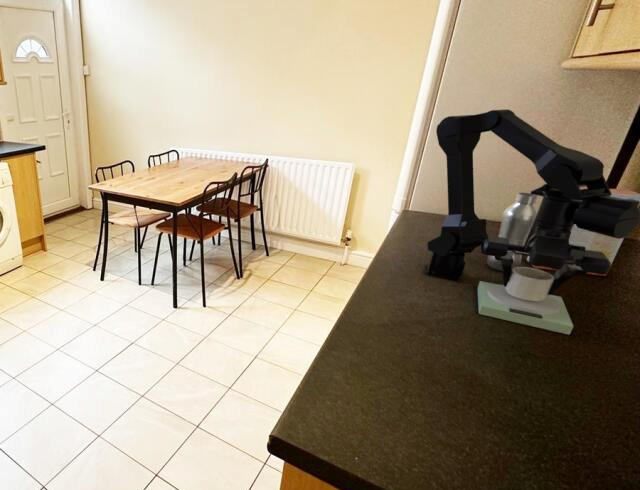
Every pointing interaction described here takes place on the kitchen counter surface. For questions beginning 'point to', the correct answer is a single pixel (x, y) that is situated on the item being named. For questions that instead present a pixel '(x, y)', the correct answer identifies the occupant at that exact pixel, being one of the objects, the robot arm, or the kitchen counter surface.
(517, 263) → the silver metal bottle
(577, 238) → the cracker box
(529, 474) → the kitchen counter surface
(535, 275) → the bowl
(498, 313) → the scale
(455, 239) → the robot arm
